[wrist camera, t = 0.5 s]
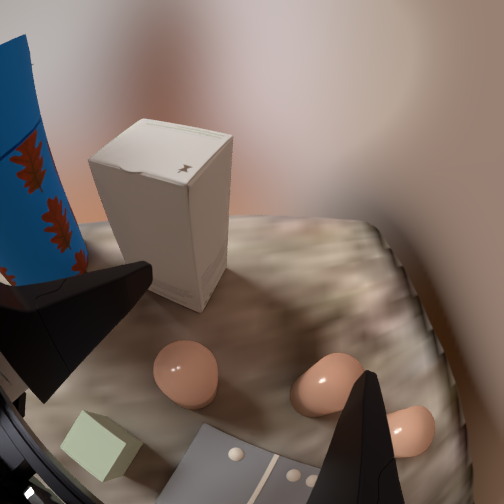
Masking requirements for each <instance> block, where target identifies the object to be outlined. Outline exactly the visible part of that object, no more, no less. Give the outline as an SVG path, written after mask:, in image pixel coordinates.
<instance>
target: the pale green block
mask: <svg viewBox="0 0 504 504" xmlns="http://www.w3.org/2000/svg"><path fill="white" fill-rule="evenodd" d="M142 444H143V442H141V441H140V440H138V439H137V438H135V437H134V436H132V435H131V434H130V433H128V432H127V431H125V430H124V429H122V428H121V427H120V426H118V425H117V424H115V423H114V422H113V421H111V420H110V419H109V418H107V417H106V416H102V415H99V414H95V413H91V412H88V411H85V410H82V412H81V414H80V415H79V417H78V418H77V420H76V422H75V423H74V425H73V426H72V428H71V430H70V431H69V433H68V435H67V436H66V438H65V440H64V441H63V443H62V445H61V446H60V448H61V449H63V450H64V451H65V452H66V453H67V454H68V455H69V456H70V457H71V458H73V459H74V460H75V461H76V462H77V463H78V464H80V465H81V466H82V467H83V468H84V469H86V470H87V471H88V472H89V473H91V474H92V475H93V476H95V477H96V478H97V479H99V480H100V481H101V482H105V481H108V480H111V479H114V478H117V477H120V476H123V475H124V473H125V472H126V470H127V468H128V467H129V465H130V464H131V462H132V460H133V459H134V457H135V456H136V454H137V452H138V451H139V449H140V448H141V446H142Z"/></svg>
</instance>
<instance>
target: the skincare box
mask: <svg viewBox="0 0 504 504" xmlns="http://www.w3.org/2000/svg"><path fill="white" fill-rule="evenodd" d="M232 147H233V135H229V134H225V133H220V132H215V131H211V130H205V129H201V128H196V127H191V126H185V125H179V124H174V123H168V122H162V121H156V120H149V119H141V120H140V121H138V122H136V123H135V124H134V125H132V126H131V127H129V128H128V129H127V130H125V131H124V132H123V133H121V134H120V135H119V136H118V137H116V138H115V139H114V140H112V141H111V142H110V143H108V144H107V145H106V146H105V147H103V148H102V149H101V150H99V151H98V152H97V153H96V154H94V155H93V156H92V157H91V158H89V159H88V162H89V166H90V169H91V172H92V175H93V178H94V181H95V184H96V187H97V190H98V193H99V196H100V199H101V202H102V204H103V207H104V210H105V212H106V214H107V218H108V220H109V223H110V226H111V228H112V231H113V233H114V236H115V238H116V240H117V243H118V245H119V248H120V250H121V252H122V255H123V257H124V259H125V261H126V264H129V263H134V262H138V261H146V262H148V263H150V264H151V265H152V269H153V282H152V284H151V286H150V287H149V288H148V290H150V291H152V292H154V293H156V294H158V295H160V296H163V297H165V298H167V299H169V300H171V301H173V302H176V303H178V304H180V305H182V306H185V307H187V308H189V309H192V310H194V311H196V312H199V313H201V312H202V311H203V310H204V308H205V306H206V304H207V302H208V301H209V299H210V297H211V295H212V293H213V291H214V289H215V288H216V286H217V284H218V282H219V280H220V278H221V276H222V274H223V272H224V271H225V269H226V267H227V245H228V222H229V199H230V182H231V181H230V180H231V164H232V163H231V162H232V161H231V160H232Z"/></svg>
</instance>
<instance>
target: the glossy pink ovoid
mask: <svg viewBox="0 0 504 504" xmlns="http://www.w3.org/2000/svg"><path fill="white" fill-rule="evenodd" d="M153 374H154V378H155V381H156V383H157V385H158V387H159V388H160V389H161V391H162V392H163V393H164V394H166V395H167V396H168V397H169V398H170V399H171V400H173V401H174V402H175V403H176V404H178V405H179V406H181V407H183V408H186V409H191V410H195V409H201V408H203V407H206V406H207V405H209V404H210V403H211V402H212V401H213V399H214V398H215V396H216V393H217V386H218V366H217V362H216V360H215V358H214V356H213V354H212V353H211V352H210V351H209V350H208V349H207V348H206V347H205V346H203V345H201V344H199V343H197V342H194V341H190V340H180V341H176V342H172V343H170V344H168V345H167V346H165V347H164V348H163V349H162V350H161V351H160V352H159V353H158V355H157V357H156V359H155V362H154V366H153Z"/></svg>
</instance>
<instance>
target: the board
mask: <svg viewBox="0 0 504 504" xmlns="http://www.w3.org/2000/svg"><path fill="white" fill-rule="evenodd" d="M320 470H321V469H320V468H316V467H313V466H310V465H306V464H303V463H300V462H297V461H294V460H291V459H288V458H285V457H282V456H279V455H276V454H274V453H271V452H268V451H266V450H263V449H261V448H258V447H256V446H253V445H251V444H248V443H246V442H244V441H241V440H239V439H237V438H235V437H232V436H230V435H228V434H226V433H224V432H222V431H220V430H218V429H216V428H214V427H212V426H210V425H208V424H206V423H203V425H202V426H201V428H200V430H199V432H198V433H197V435H196V437H195V438H194V440H193V442H192V443H191V445H190V447H189V448H188V450H187V452H186V453H185V455H184V457H183V458H182V460H181V462H180V463H179V465H178V467H177V468H176V470H175V472H174V473H173V475H172V476H171V478H170V480H169V481H168V483H167V484H166V486H165V488H164V489H163V491H162V492H161V494H160V495H159V497H158V498H157V500H156V502H155V503H154V504H306V503H307V500H308V498H309V496H310V494H311V492H312V489H313V487H314V485H315V482H316V480H317V477H318V475H319V472H320Z"/></svg>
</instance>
